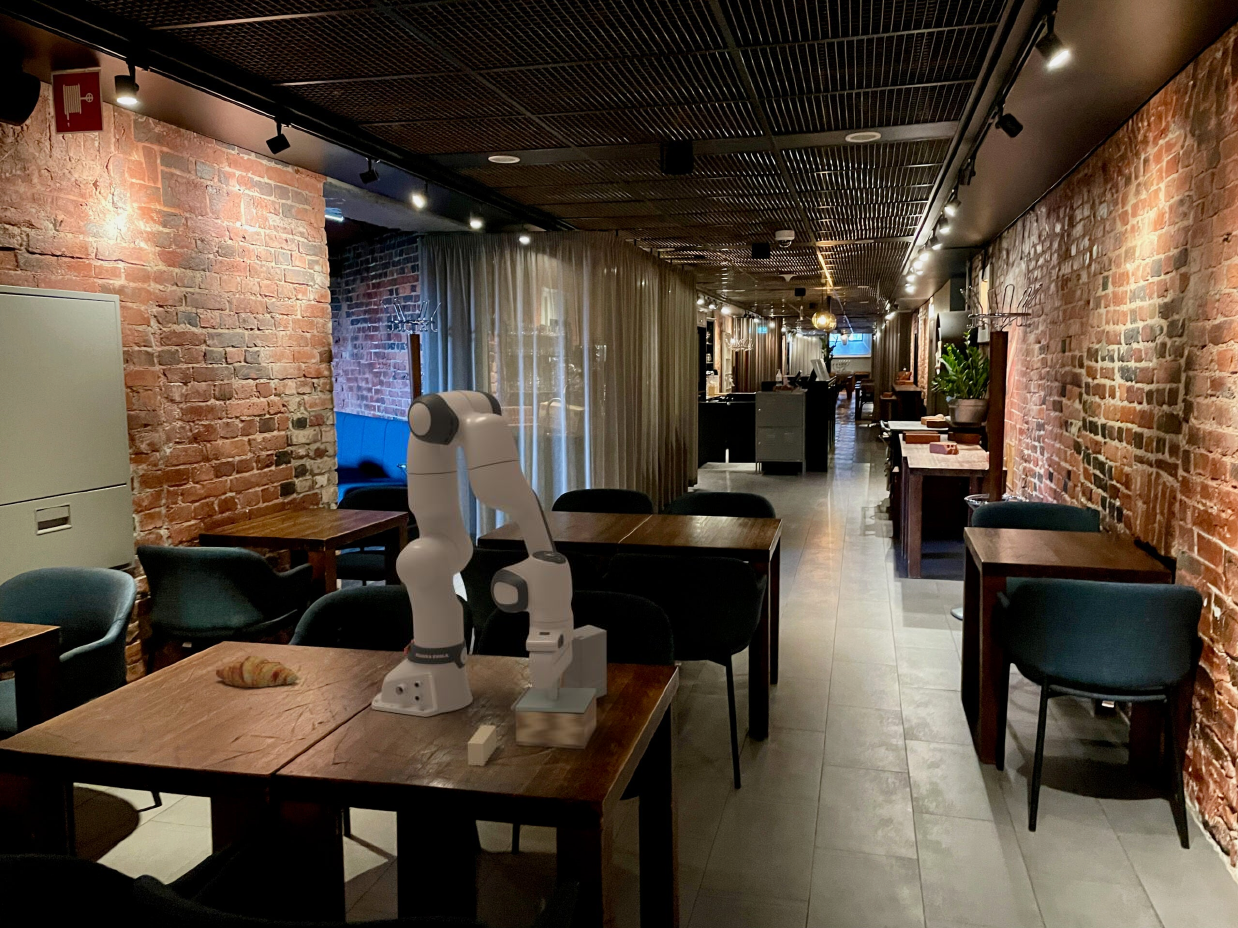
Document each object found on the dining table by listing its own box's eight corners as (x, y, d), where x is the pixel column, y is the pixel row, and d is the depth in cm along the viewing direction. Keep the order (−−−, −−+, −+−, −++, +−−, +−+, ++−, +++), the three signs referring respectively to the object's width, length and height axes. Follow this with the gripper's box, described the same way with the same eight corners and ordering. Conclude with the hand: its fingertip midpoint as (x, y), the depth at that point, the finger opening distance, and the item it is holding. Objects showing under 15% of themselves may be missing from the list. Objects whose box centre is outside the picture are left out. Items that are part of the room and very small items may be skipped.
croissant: (303, 694, 226) (309, 661, 229) (285, 687, 217) (292, 654, 220) (222, 690, 229) (229, 657, 232) (201, 683, 219) (209, 650, 222)
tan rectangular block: (468, 765, 175) (467, 742, 175) (482, 746, 184) (481, 725, 184) (483, 766, 175) (482, 743, 174) (496, 747, 184) (496, 725, 183)
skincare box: (588, 688, 217) (587, 623, 215) (609, 696, 212) (608, 628, 210) (561, 697, 211) (560, 630, 209) (582, 705, 206) (581, 636, 204)
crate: (516, 744, 184) (515, 710, 184) (532, 722, 196) (531, 690, 195) (584, 748, 182) (583, 714, 181) (596, 726, 194) (596, 693, 193)
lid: (510, 710, 184) (510, 706, 184) (526, 690, 196) (526, 686, 196) (583, 712, 181) (583, 708, 181) (596, 691, 193) (595, 687, 193)
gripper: (549, 618, 198) (552, 680, 199) (523, 644, 178) (526, 714, 179) (578, 618, 197) (580, 681, 198) (554, 645, 176) (557, 715, 178)
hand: (554, 697), depth 188 cm, fingers closed, pressing on lid
